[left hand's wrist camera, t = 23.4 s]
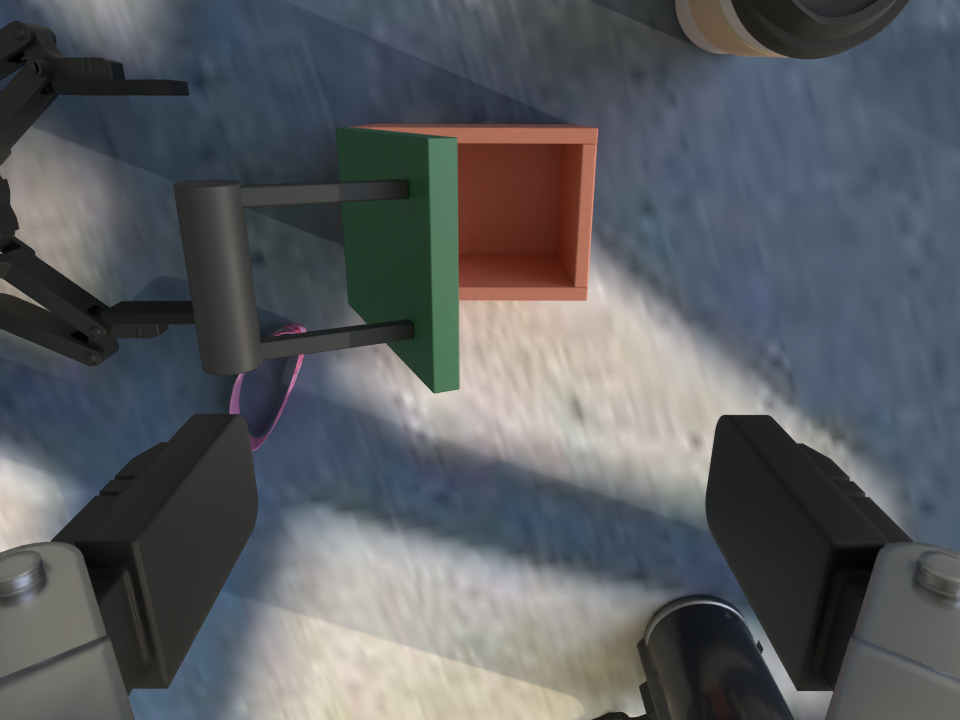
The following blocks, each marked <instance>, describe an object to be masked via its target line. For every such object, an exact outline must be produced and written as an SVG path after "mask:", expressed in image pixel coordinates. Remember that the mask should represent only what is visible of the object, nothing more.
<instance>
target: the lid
mask: <svg viewBox="0 0 960 720" xmlns="http://www.w3.org/2000/svg"><path fill="white" fill-rule="evenodd" d="M336 137H337V151H338V165H339V179H340V181H336V182H311V183H286V184H261V185H241V183H240V182H238V181H233V180H198V181H186V182H179V183H176V184H174V185H173V188H174V194H175V200H176V207H177V213H178V219H179V225H180V232H181V238H182V244H183V250H184V257H185V263H186V269H187V275H188V281H189V288H190V294H191V300H192V306H193V313H194V319H195V325H196V331H197V338H198V344H199V350H200V356H201V363H202V368H203V370H204V371H205V372H206V373H209V374H213V375H236V374H241V373H245V372H249V371H252V370H254V369H256V368H258V367H259V366H261V364H262V362H263V360H267V359H274V358H281V357H288V356H295V355H302V354H309V353H317V352H324V351H331V350H338V349H345V348H352V347H360V346H367V345H374V344H381V343H386V344H387V345H388V346H389V347H390V348H391V349H392V350H393V351H394V352H395V353H396V354H397V355H398V356H399V357H400V359H401V360H402V361H403V362H404V363H405V364H406V365H407V366H408V367H409V368H410V369H411V370H412V371H413V372H414V373H415V374H416V375H417V376H418V377H419V378H420V380H421V381H422V382H423V383H424V384H425V385H426V386H427V387H428V388H429V389H430V390H431V391H432V392H433V393H440V392H446V391H452V390H457V389H459V388H460V385H459V269H458V152H457V138H456V137H447V136H437V135H427V134H417V133H407V132H397V131H387V130H377V129H367V128H357V127H340V128H336ZM339 202H341V207H342V221H343V235H344V249H345V263H346V277H347V291H348V304H349V305H350V306H351V307H352V308H353V309H354V310H355V311H356V312H357V313H358V314H359V316H360V317H361V318H362V319H363V320H364V321H365V322H366V323H367V324H365V325H357V326H349V327H341V328H334V329H326V330H318V331H310V332H302V333H294V334H286V335H278V336H271V337H263V338H260V333H259V325H258V317H257V309H256V301H255V293H254V285H253V277H252V269H251V260H250V252H249V244H248V236H247V228H246V220H245V212H244V207H262V206H281V205H300V204H320V203H339Z"/></svg>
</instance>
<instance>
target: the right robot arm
mask: <svg viewBox="0 0 960 720" xmlns="http://www.w3.org/2000/svg"><path fill="white" fill-rule="evenodd" d="M55 44H56V36H55V34H54V32H53V31H52V30H51V29H49V28H47V27H43V26H39V25H34V24H29V23H24V22H18V21H14V22H11V23H10V24H8V25H7V26H5V27H4V28H2V29H0V80H2V79H3V78H5V77H7V76H8V75H10V74H12V73H13V72H15V71H16V70H18V69H20V68H21V67H23V66H24V65H25V66H24V67H23V68H22V69H21V70H20V71H19V73H18V74H17V75H16V76H15V77H14V78H13V79H12V81H11V82H10V83H9V84H8V85H7V86H6V88H5V89H4V90H3V91H2V92H1V93H0V166H1V165H2V163H3V162H4V161H5V160H6V159H7V158H8V157H9V156H10V154H11V151H10V149H11V148H12V147H13V145H14V144H15V143H16V142H17V141H18V140H19V139H20V138H21V136H22V135H23V134H24V133H25V132H26V131H27V130H28V129H29V127H30V126H31V125H32V124H33V123H34V122H35V121H36V120H37V118H38V117H39V116H40V115H41V114H42V113H43V112H44V111H45V110H46V108H47V107H48V106H49V105H50V104H51V103H52V102H53V101H54V99H55V98H56V97H57V96H58V95H59V94H65V95H189V92H188V85H187V82H183V81H174V80H125V76H124V70H123V65H122V63H120V62H117V61H115V60H111V59H104V58H66V57H64V56H63V55H62V54H61V53H60V52H59V50H58V48H57V46H56V45H55ZM18 229H19V226H18V221H17V217H16V215H15V213H14V211H13V209H12V208H11V205H10V189H9V185H8V181H7V179H2V177H1V175H0V252H2V254H0V278H2V279H4V280H5V281H7V282H8V283H10V284H11V285H13V286H14V287H16V288H17V289H19V290H20V291H22V292H23V293H25V294H26V295H28V296H29V297H30V298H32V299H33V300H35V301H36V302H38V303H39V304H41V305H42V306H44V307H45V308H47V309H48V310H50V311H51V312H50V311H48V310H45V309H43V308H41V307H38V306H36V305H34V304H31V303H29V302H27V301H24V300H22V299H20V298H17V297H15V296H12V295H8V294H5V293H0V329H2V330H5V331H7V332H10V333H12V334H14V335H17V336H19V337H22V338H24V339H26V340H29V341H31V342H33V343H36V344H38V345H41V346H43V347H45V348H48V349H50V350H53V351H55V352H57V353H60V354H62V355H64V356H67V357H69V358H72V359H74V360H76V361H79V362H81V363H84V364H86V365H88V366H96V365H98V364H99V363H101V362H103V361H104V360H106V359H107V358H109V357H110V356H112V355H113V354H115V353H116V352H117V351H118V350H119V345H118V343H117V338H153V337H156V336H158V335H160V334H161V333H163V332H164V331H166V330H167V329H168V324H195V319H194V313H193V306H192V301H122V302H120V303H118V304H116V305H114V306H112V307H110V308H109V307H108V306H107V305H105V304H104V303H102V302H101V301H99V300H98V299H97V298H95V297H94V296H92V295H91V294H89V293H88V292H87V291H85V290H84V289H82V288H81V287H79V286H78V285H76V284H75V283H74V282H72V281H71V280H69V279H68V278H66V277H65V276H64V275H62V274H61V273H59V272H58V271H56V270H55V269H54V268H52V267H51V266H49V265H48V264H46V263H45V262H43V261H42V260H41V259H39V258H38V257H37V256H36V255H35V251H34V250H33V249H32V248H30V247H29V246H28V245H26V244H25V243H23V242H22V241H20V240H19V239H18V238H16V237H15V230H18ZM52 312H53V313H52Z"/></svg>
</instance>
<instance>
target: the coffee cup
mask: <svg viewBox="0 0 960 720" xmlns="http://www.w3.org/2000/svg"><path fill="white" fill-rule="evenodd" d="M909 1H910V0H675V8H676V14H677V18H678V21H679V23H680V26H681V28H682V30H683V31H684V33H685V34H686V36H687V37H688V38H689V39H690V40H691V41H692V42H693V43H694V44H695V45H697V46H698V47H700V48H701V49H703V50H706V51H708V52H712V53H717V54H733V55H739V56H758V57H791V58H797V59H818V58H824V57H829V56H832V55H836V54H839V53H841V52H844V51H846V50H848V49H850V48H852V47H855V46H857V45H860V44H862V43H864V42H866V41H867V40H869V39H871V38H872V37H874V36H875V35H877V34H878V33H880V32H881V31H882V30H883V29H885V28H886V27H887V26H888V25H889V24H890V23H891V22H892V21H893V20H894V19H895V18H896V17H897V16H898V15H899V14H900V13H901V11H902V10H903V9H904V8H905V6H906V5H907V4H908V2H909Z"/></svg>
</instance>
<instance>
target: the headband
mask: <svg viewBox="0 0 960 720" xmlns="http://www.w3.org/2000/svg"><path fill="white" fill-rule="evenodd" d="M302 332H306V329H305V328H304V326H302V325H301V324H290V325H287V326H285V327H283V328H281V329H279V330H277V331H276V332H275V333H273V334H272V335H271V336H278V335H281V334H285V333H290V334H294V333H302ZM271 336H270V337H271ZM303 357H304V354H302V355H299V356H298V361H297V365H296V368H295V372H294V375H293V378H292V381H291V384H290V386H289V389H288V392H287V394H286V397H285V399H284V402H283V404H282V407H281V409H280V412H279V414H278V416H277V418H276V421H275V423H274V425H273V427H272V429H273V428H274V426H275V425H276V423H277V421H278V419H279V417H280V415H281V413H282V411H283V409H284V407H285V405H286V402H287V400H288V398H289V395H290V393H291V390H292V388H293V385H294V383H295V380H296V378H297V375H298V372H299V369H300V366H301V363H302V360H303ZM244 374H245V373H241V374H239V376H238V378H237V379H236V381H235V383H234V386H233V392H232V396H231V401H230V411H229V414H240V410H239V396H240V389H241V384H242V380H243V377H244ZM272 429H271V431H272ZM271 431H270V432H271ZM270 432H269V433H268V434H267V435H265V436H264V437H262V438H254V437H252V436H250V435H249V438H250V445H251V452H252V451H255V450H256V449H258V448H259V447H260V446H261V445H262V444H263V443H264V441H265V440H266V438H267V437H268V435H269V434H270Z"/></svg>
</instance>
